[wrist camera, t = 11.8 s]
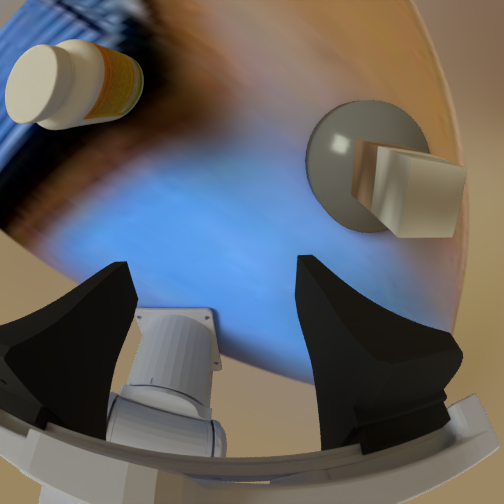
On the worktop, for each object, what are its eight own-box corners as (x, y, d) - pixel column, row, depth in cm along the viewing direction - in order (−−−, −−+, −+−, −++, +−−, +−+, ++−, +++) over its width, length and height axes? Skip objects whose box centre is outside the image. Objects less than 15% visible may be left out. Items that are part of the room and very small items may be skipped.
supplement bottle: (137, 44, 14) (64, 9, 5) (153, 104, 16) (80, 104, 8) (79, 74, 14) (-8, 71, 6) (93, 131, 17) (7, 156, 8)
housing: (397, 196, 18) (452, 237, 12) (350, 194, 18) (398, 237, 12) (403, 145, 16) (467, 168, 10) (354, 139, 16) (411, 157, 10)
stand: (408, 222, 21) (419, 231, 20) (302, 223, 21) (308, 234, 19) (420, 111, 16) (434, 113, 15) (305, 94, 16) (312, 92, 15)
